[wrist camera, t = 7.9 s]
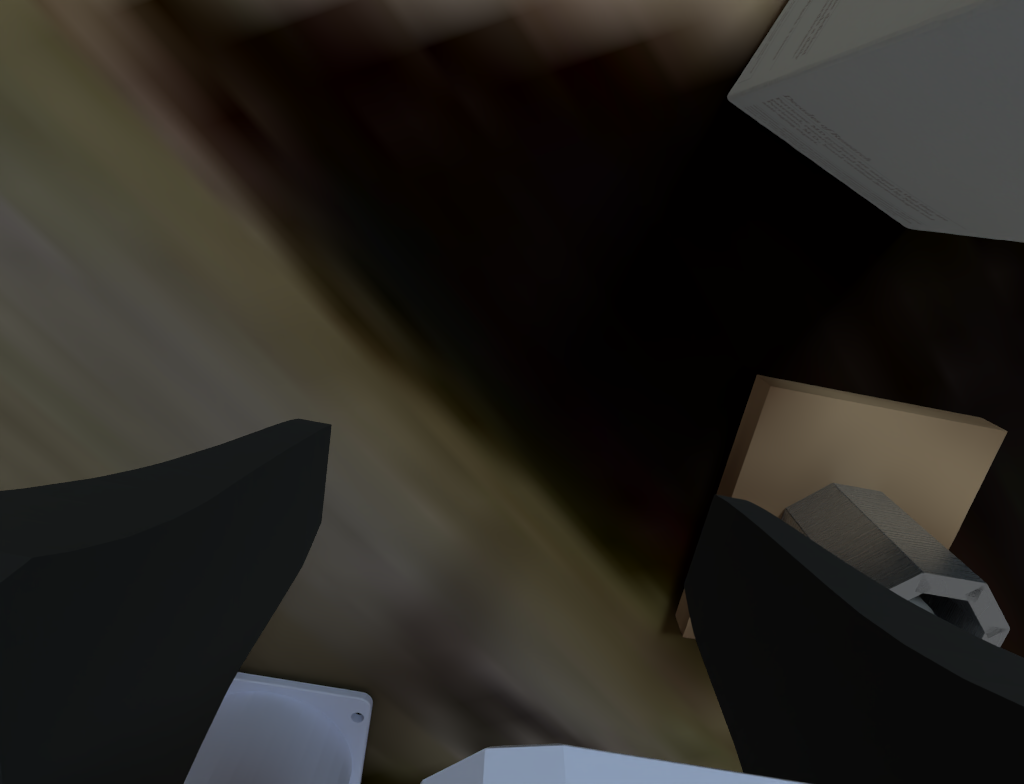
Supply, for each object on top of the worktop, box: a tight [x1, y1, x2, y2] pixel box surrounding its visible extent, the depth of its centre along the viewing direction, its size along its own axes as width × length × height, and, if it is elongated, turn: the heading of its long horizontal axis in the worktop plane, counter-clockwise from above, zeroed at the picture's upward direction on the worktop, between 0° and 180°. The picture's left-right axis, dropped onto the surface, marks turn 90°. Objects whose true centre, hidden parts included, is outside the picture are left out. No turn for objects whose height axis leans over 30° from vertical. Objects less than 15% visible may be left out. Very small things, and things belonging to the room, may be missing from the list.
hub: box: [781, 483, 1010, 647], centre depth 19 cm, size 4×4×5 cm
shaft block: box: [675, 375, 1007, 639], centre depth 20 cm, size 10×8×6 cm
